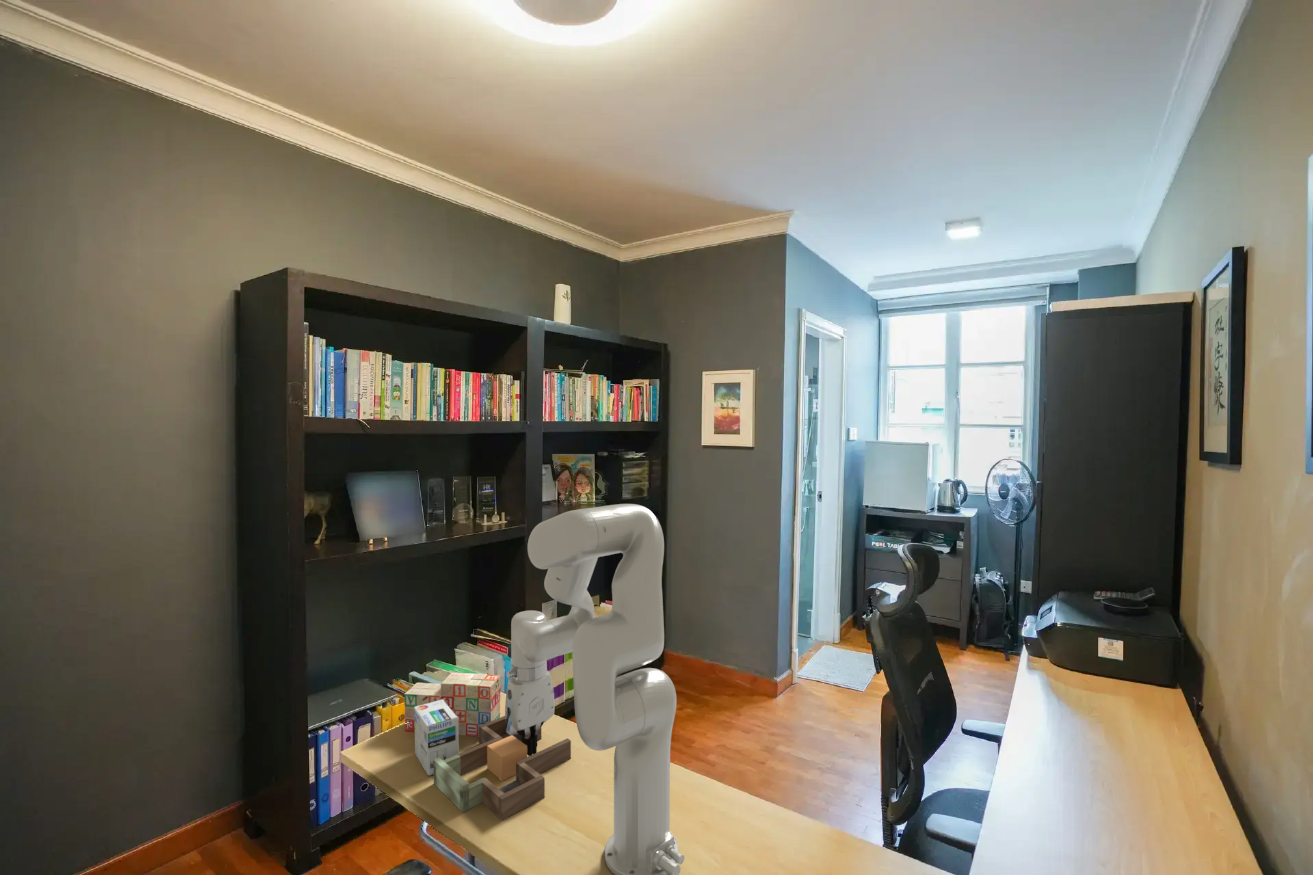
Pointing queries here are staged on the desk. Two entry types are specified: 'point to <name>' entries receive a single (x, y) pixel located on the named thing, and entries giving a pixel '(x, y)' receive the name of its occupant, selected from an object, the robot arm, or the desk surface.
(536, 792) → the box
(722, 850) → the desk surface
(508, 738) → the block
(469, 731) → the stack of blocks
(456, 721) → the light bulb box
